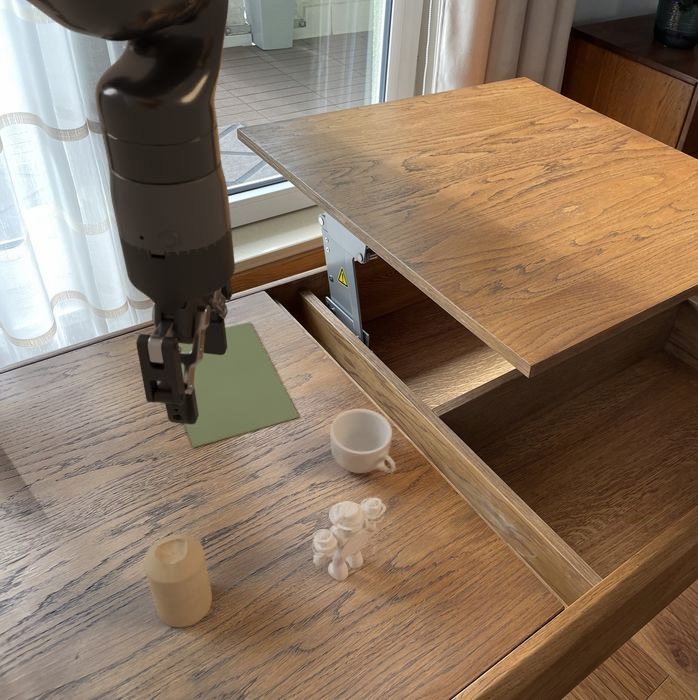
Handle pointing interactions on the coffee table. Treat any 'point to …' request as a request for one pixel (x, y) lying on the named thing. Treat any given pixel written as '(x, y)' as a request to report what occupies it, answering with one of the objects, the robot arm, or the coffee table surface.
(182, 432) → the coffee table surface
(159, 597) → the candle
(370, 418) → the teacup
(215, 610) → the coffee table surface
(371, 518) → the hat wearing toy figure
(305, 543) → the coffee table surface
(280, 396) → the desk mat
